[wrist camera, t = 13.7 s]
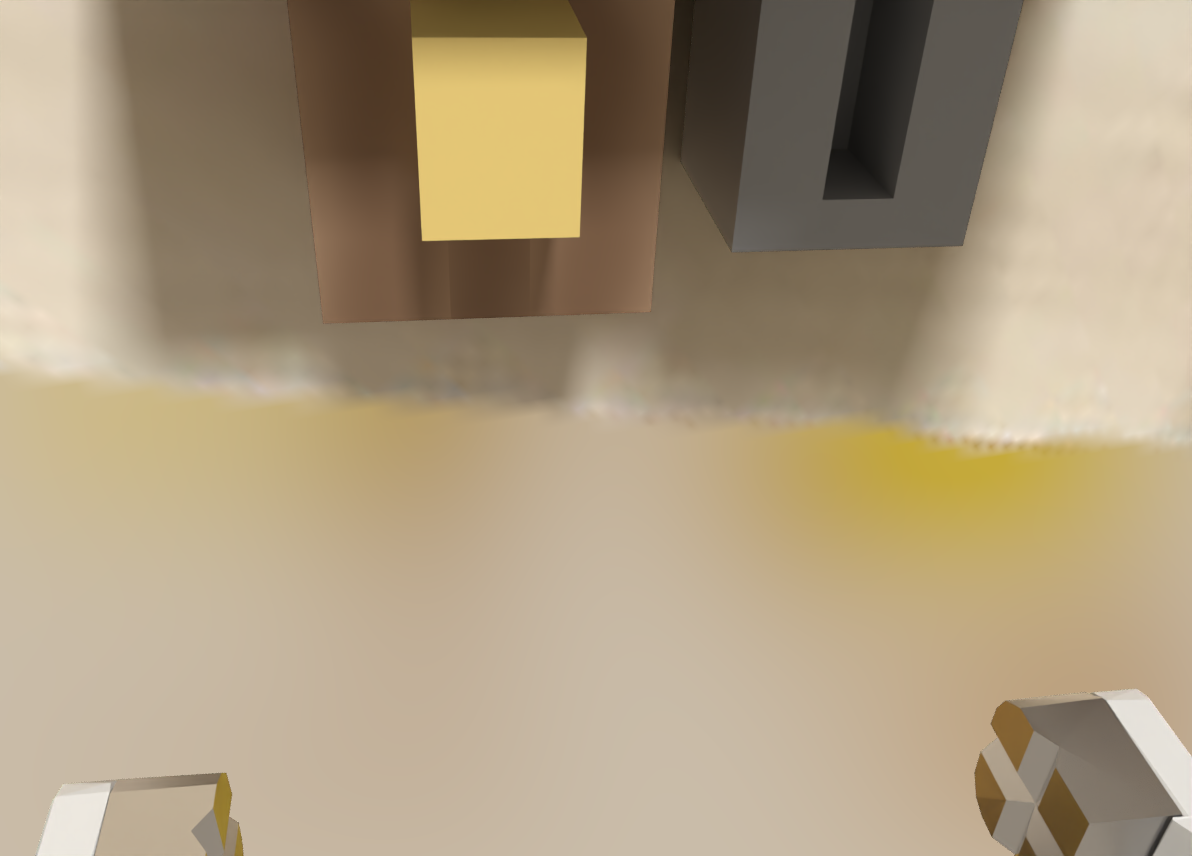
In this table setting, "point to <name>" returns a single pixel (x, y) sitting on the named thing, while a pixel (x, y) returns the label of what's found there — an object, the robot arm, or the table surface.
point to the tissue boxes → (391, 176)
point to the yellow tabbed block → (498, 118)
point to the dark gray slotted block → (843, 118)
